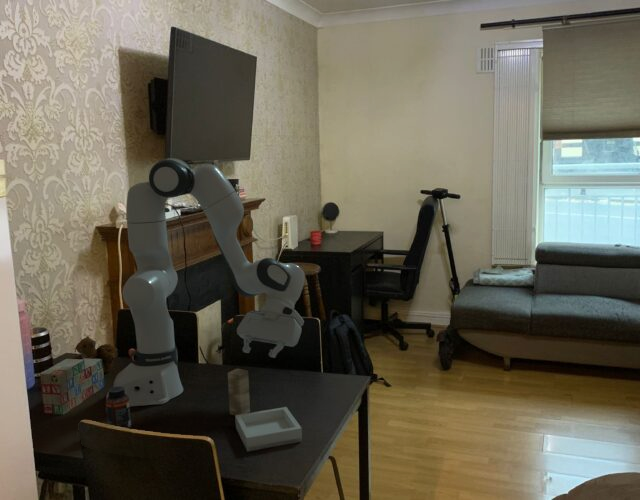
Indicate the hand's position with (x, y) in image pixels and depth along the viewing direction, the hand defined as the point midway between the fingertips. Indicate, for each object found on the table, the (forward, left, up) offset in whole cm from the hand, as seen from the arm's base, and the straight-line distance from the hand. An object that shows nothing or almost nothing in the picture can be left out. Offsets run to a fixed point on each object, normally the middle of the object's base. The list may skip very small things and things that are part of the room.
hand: (258, 354), depth 178 cm
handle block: (-7, -6, -14) cm, 17 cm away
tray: (-3, -22, -14) cm, 26 cm away
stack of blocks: (-51, +23, -15) cm, 58 cm away
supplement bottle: (-39, -4, -14) cm, 42 cm away
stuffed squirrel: (-46, +43, -14) cm, 65 cm away
